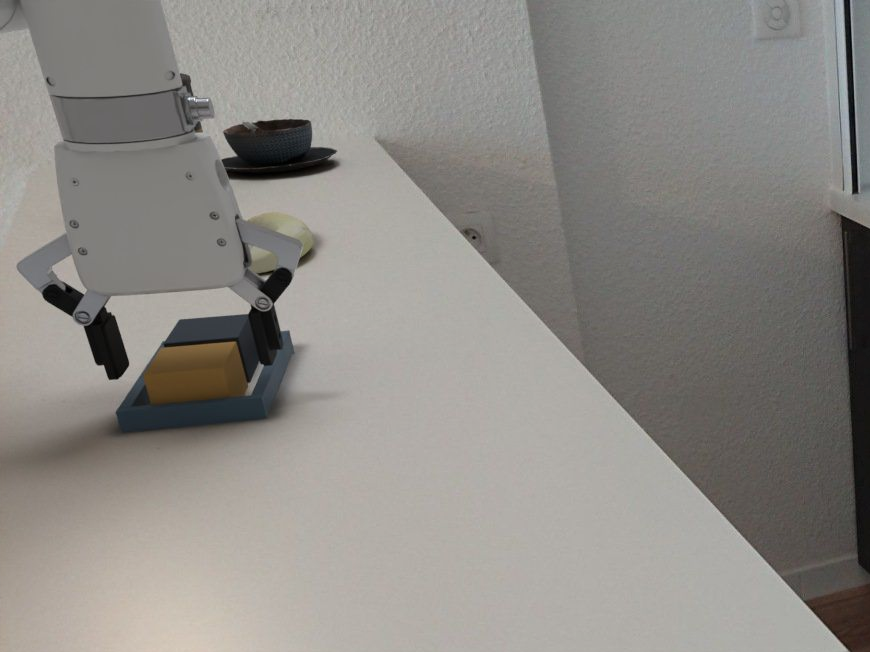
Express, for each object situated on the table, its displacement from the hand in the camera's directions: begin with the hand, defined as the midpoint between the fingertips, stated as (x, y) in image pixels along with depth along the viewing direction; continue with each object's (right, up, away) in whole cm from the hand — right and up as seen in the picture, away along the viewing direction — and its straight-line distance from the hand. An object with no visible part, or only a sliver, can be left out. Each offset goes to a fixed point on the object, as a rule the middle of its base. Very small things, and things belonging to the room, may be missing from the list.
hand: (195, 366), depth 92 cm
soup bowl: (-36, +37, +78) cm, 94 cm away
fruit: (-17, +17, +40) cm, 47 cm away
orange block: (0, -3, +2) cm, 3 cm away
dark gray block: (-2, 0, +7) cm, 8 cm away
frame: (-1, -2, +5) cm, 5 cm away
